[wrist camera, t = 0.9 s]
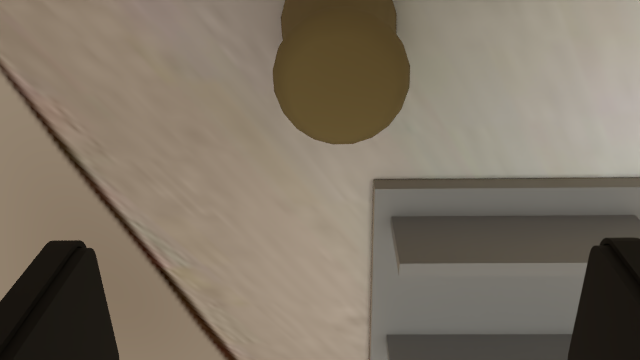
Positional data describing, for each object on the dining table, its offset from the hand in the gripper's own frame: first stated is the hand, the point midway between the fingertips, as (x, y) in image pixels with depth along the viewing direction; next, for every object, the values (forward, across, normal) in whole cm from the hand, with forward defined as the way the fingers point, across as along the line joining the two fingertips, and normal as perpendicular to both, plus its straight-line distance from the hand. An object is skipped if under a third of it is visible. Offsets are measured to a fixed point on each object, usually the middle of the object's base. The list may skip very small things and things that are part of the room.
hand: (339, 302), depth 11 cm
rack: (+22, -10, +20) cm, 31 cm away
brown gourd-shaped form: (+22, 0, 0) cm, 22 cm away
